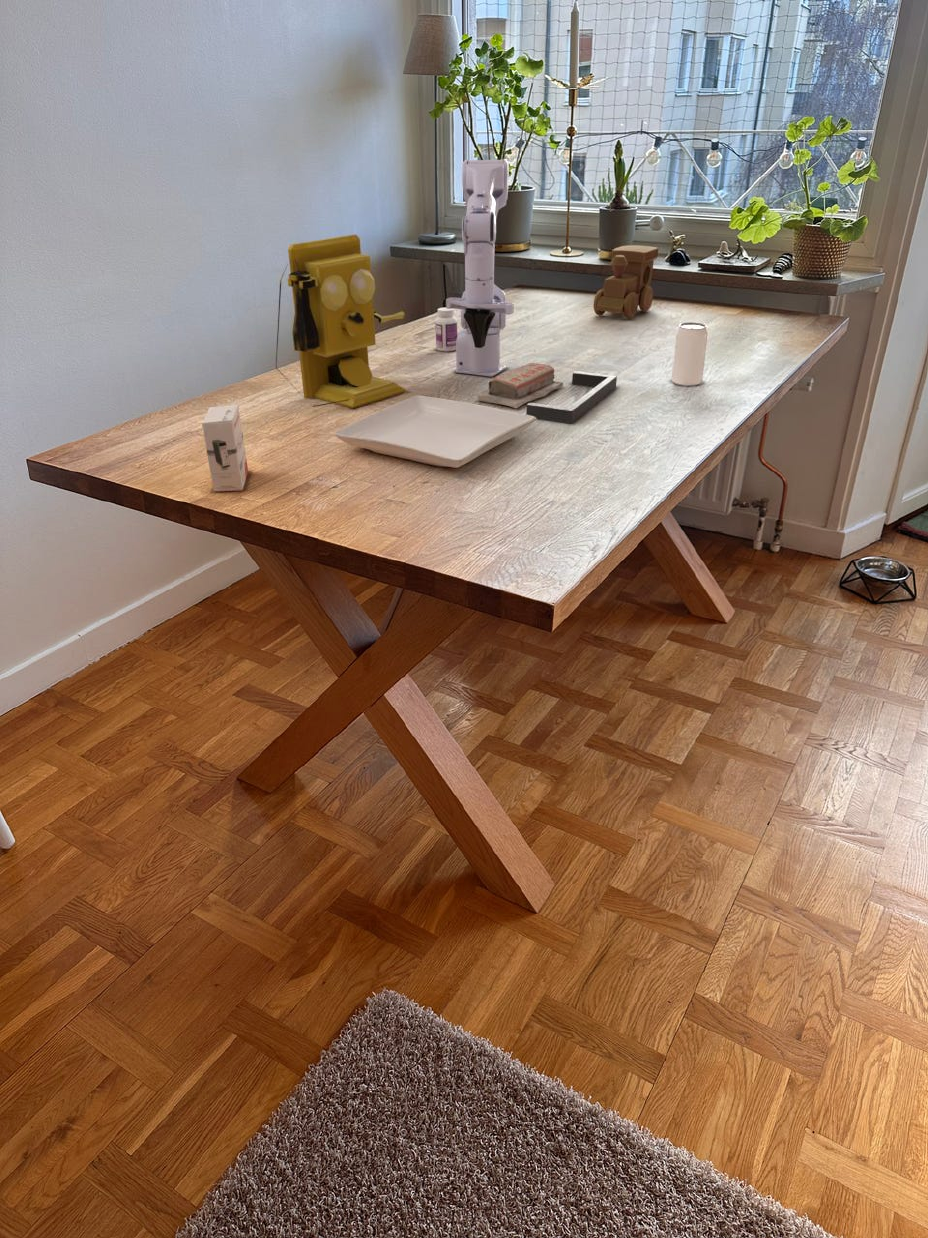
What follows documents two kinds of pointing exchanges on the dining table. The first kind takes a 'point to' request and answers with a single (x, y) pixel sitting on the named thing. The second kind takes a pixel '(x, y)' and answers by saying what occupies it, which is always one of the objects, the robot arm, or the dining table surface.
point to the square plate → (435, 430)
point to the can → (689, 354)
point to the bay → (576, 410)
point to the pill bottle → (446, 330)
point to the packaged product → (520, 385)
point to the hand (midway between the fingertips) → (479, 346)
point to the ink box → (225, 448)
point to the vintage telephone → (335, 321)
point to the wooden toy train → (628, 282)
